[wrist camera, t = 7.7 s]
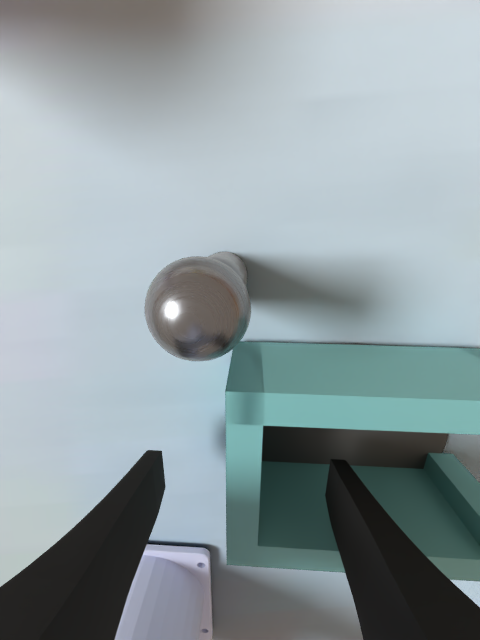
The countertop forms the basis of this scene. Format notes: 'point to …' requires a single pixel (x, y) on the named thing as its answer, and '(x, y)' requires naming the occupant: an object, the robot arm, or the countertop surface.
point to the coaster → (350, 446)
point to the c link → (383, 482)
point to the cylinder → (199, 306)
